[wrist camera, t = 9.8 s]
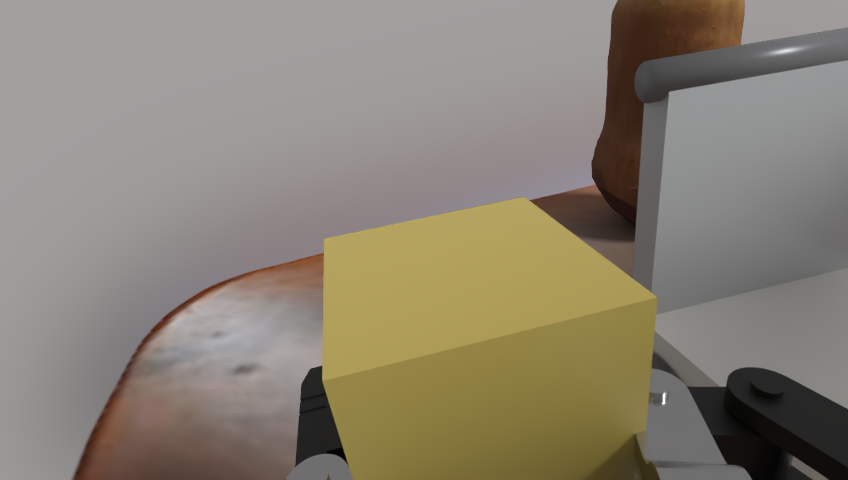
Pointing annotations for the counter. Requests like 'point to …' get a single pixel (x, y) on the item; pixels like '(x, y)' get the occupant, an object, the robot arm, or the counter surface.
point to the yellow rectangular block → (484, 350)
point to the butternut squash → (629, 47)
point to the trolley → (748, 212)
